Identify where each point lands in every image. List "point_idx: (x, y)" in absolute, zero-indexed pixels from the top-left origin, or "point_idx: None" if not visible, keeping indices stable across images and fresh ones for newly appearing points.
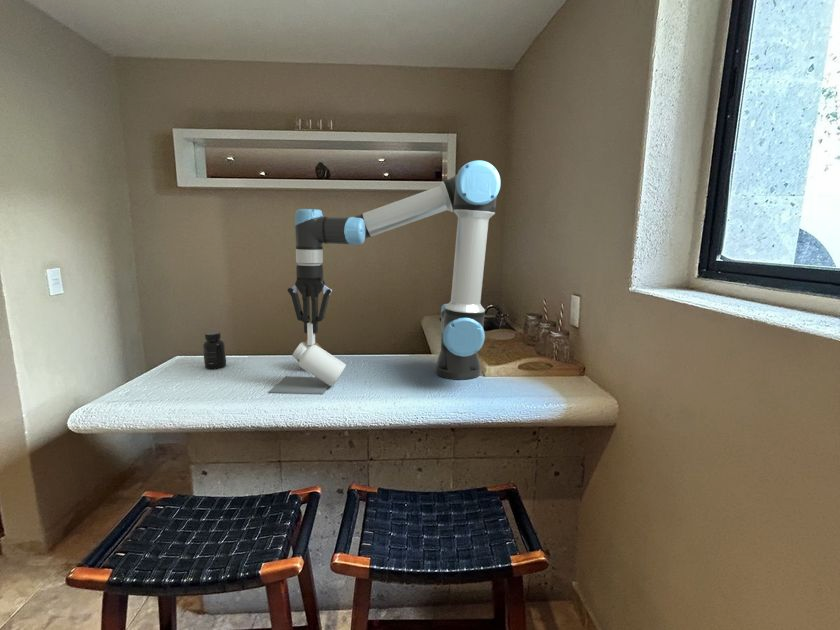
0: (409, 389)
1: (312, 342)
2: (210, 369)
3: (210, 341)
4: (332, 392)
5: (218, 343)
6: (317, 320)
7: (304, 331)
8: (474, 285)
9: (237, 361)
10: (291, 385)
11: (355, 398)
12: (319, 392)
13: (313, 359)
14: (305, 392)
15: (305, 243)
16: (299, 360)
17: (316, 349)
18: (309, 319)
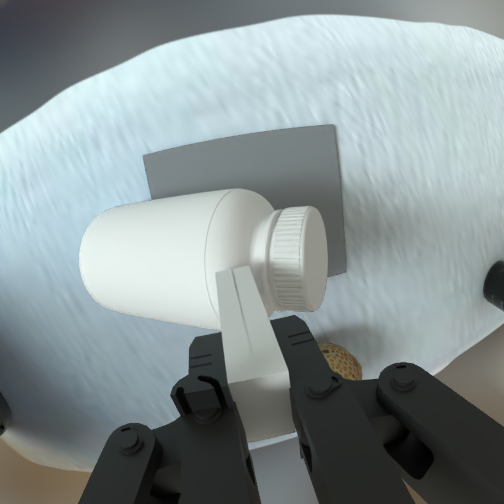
0: None
1: (217, 283)
2: (498, 261)
3: None
4: (121, 184)
5: None
6: (176, 436)
7: (301, 321)
8: None
9: (470, 325)
10: (289, 195)
11: (36, 163)
12: (155, 157)
13: (184, 205)
14: (204, 143)
15: None
16: (336, 345)
17: (186, 264)
18: (299, 441)
